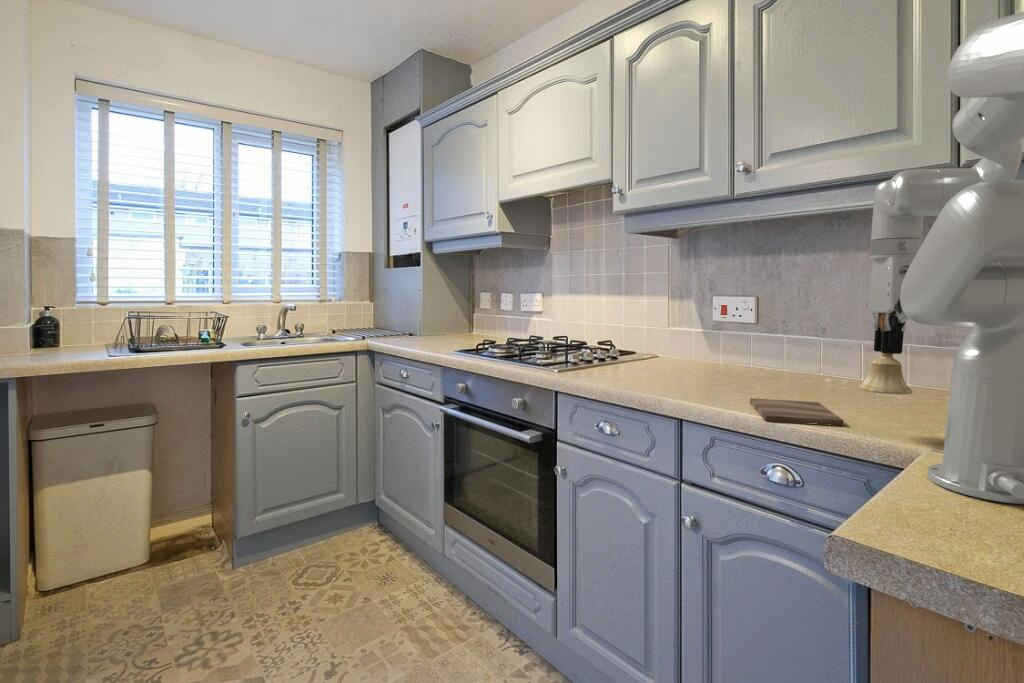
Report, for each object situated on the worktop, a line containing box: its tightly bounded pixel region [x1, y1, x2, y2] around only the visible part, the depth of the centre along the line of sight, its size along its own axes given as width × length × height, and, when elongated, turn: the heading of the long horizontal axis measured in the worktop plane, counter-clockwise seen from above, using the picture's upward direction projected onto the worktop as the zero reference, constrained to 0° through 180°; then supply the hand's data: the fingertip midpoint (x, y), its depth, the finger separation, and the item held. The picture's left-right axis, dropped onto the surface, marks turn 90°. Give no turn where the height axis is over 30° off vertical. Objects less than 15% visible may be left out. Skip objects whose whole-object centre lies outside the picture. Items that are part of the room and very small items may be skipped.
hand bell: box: [857, 311, 913, 395], centre depth 100 cm, size 8×8×16 cm
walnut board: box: [749, 397, 844, 426], centre depth 116 cm, size 16×14×1 cm
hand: (887, 351), depth 100 cm, fingers closed on hand bell
